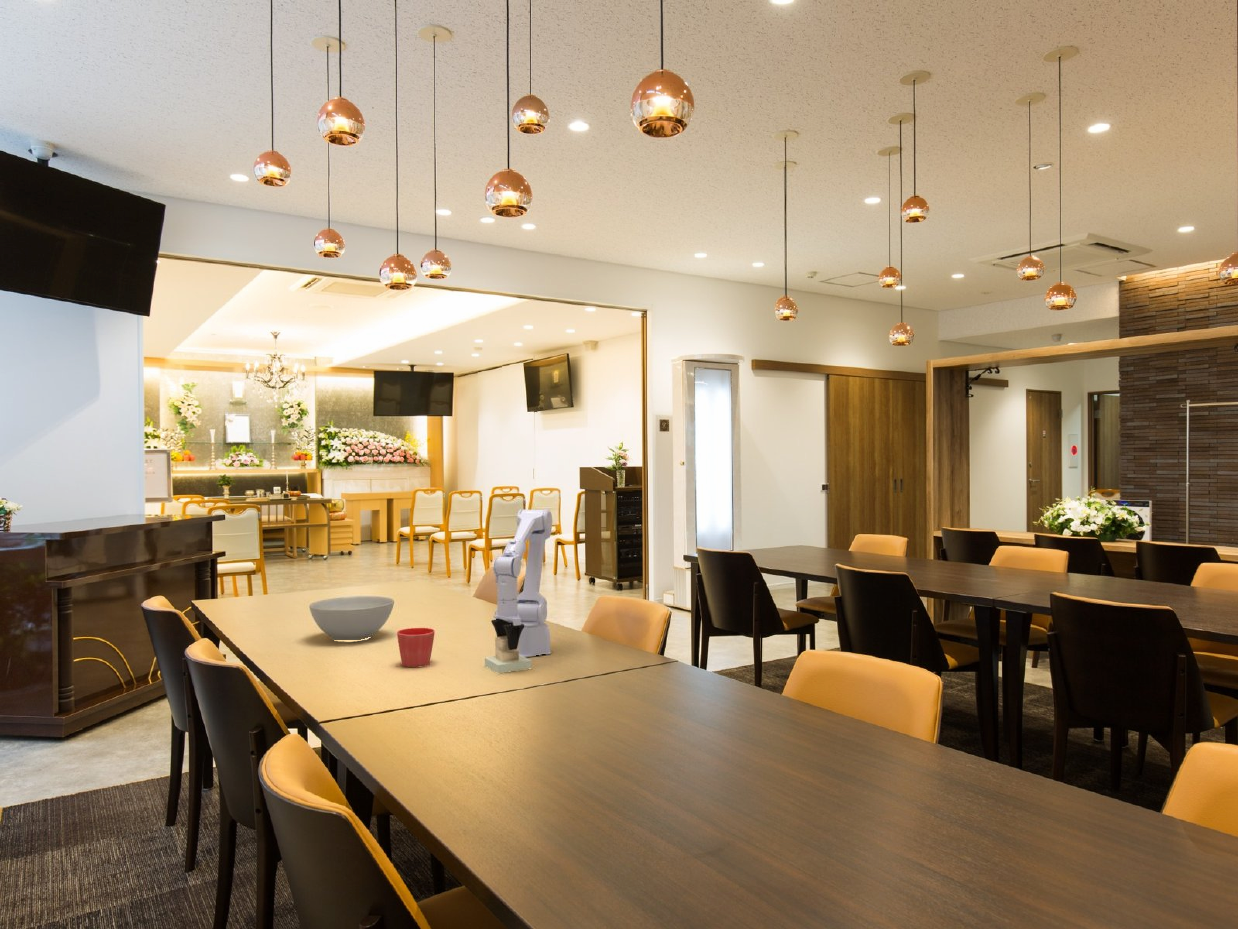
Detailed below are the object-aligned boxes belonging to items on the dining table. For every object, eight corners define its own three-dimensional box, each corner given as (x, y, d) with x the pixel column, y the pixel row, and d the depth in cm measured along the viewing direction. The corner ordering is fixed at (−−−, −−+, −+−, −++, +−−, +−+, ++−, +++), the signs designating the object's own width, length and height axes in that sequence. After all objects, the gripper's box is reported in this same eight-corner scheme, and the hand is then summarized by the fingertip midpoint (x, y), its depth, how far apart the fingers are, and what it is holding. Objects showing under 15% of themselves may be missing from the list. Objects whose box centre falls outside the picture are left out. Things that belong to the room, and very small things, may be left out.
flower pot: (440, 660, 240) (439, 627, 240) (427, 669, 229) (427, 635, 229) (405, 659, 241) (405, 627, 241) (391, 669, 230) (391, 634, 230)
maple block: (511, 656, 234) (511, 635, 234) (518, 659, 229) (518, 638, 229) (495, 658, 231) (495, 637, 231) (502, 662, 227) (502, 640, 227)
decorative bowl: (306, 635, 278) (306, 599, 278) (387, 628, 289) (387, 594, 289) (313, 651, 253) (312, 612, 253) (400, 642, 265) (400, 605, 265)
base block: (517, 663, 237) (517, 653, 237) (531, 671, 229) (531, 660, 229) (484, 668, 232) (484, 657, 232) (498, 676, 224) (498, 665, 224)
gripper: (484, 596, 235) (485, 643, 235) (503, 603, 222) (504, 653, 222) (507, 594, 238) (507, 640, 238) (527, 601, 226) (528, 650, 226)
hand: (507, 646), depth 230 cm, fingers open, 7 cm apart
